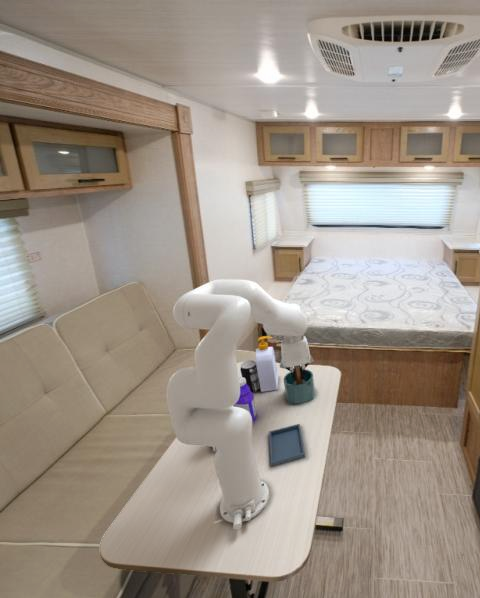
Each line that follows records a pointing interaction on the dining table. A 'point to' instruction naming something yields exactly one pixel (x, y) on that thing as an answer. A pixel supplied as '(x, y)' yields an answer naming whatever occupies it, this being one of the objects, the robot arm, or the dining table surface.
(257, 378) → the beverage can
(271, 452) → the dish
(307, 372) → the canister
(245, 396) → the bottle
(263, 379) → the soap bottle
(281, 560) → the dining table surface
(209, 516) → the dining table surface
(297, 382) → the scrub brush
